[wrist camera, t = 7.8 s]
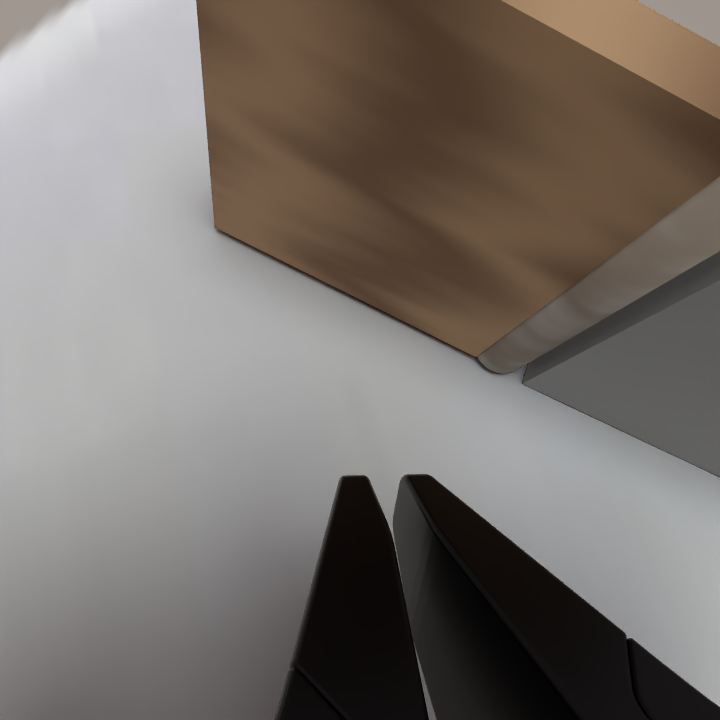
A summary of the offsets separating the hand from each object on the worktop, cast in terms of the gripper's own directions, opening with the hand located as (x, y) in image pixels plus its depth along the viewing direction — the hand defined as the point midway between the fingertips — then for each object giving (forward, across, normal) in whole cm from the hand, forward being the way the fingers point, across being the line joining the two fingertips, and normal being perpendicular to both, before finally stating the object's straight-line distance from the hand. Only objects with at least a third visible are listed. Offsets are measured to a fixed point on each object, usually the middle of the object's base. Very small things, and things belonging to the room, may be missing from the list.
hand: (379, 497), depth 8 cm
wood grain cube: (+11, -2, 0) cm, 12 cm away
